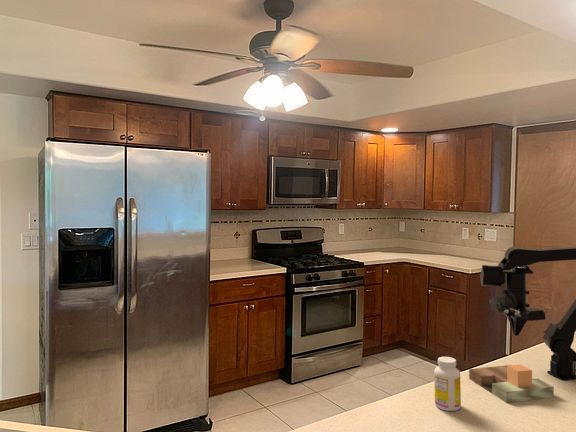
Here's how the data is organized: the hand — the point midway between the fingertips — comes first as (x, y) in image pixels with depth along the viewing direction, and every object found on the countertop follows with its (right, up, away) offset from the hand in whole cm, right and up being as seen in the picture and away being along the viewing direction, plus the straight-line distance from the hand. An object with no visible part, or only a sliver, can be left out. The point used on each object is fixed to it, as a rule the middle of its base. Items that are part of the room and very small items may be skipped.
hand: (516, 335), depth 141 cm
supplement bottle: (-30, -14, -22) cm, 40 cm away
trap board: (-8, -13, -11) cm, 18 cm away
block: (-7, -10, -15) cm, 19 cm away
